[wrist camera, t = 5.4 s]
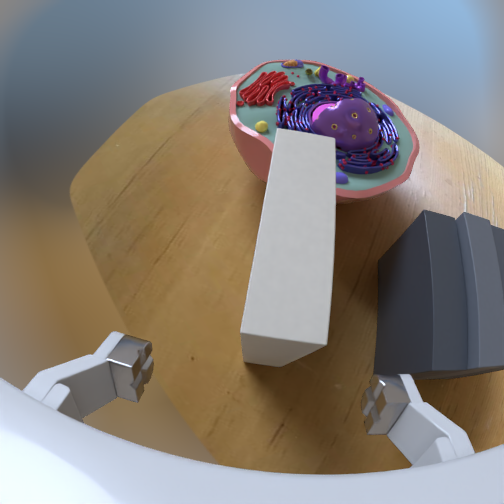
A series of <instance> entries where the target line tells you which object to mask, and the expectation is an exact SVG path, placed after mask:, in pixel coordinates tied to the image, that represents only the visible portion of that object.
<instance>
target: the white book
mask: <svg viewBox="0 0 504 504" xmlns="http://www.w3.org/2000/svg"><path fill="white" fill-rule="evenodd" d="M335 222H336V146H335V138H332V137H327V136H322V135H316V134H311V133H305V132H300V131H294V130H287V129H281V128H277V130H276V136H275V141H274V147H273V152H272V158H271V164H270V169H269V175H268V180H267V186H266V192H265V197H264V203H263V208H262V214H261V219H260V225H259V230H258V236H257V242H256V247H255V253H254V258H253V264H252V269H251V275H250V280H249V286H248V291H247V297H246V302H245V308H244V313H243V319H242V324H241V330H240V335H241V344H242V353H243V361H244V362H248V363H255V364H261V365H268V366H275V367H282V366H284V365H286V364H288V363H291V362H293V361H295V360H297V359H299V358H301V357H304V356H306V355H308V354H310V353H312V352H314V351H316V350H318V349H320V348H322V347H324V346H326V345H327V340H328V331H329V321H330V310H331V298H332V284H333V269H334V249H335Z"/></svg>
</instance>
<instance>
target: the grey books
mask: <svg viewBox="0 0 504 504" xmlns="http://www.w3.org/2000/svg"><path fill="white" fill-rule="evenodd" d="M499 370H504V229H501V228H498V227H495V226H492V225H491V224H490V221H489V220H487V219H484V218H481V217H478V216H475V215H472V214H469V213H466V212H463V213H462V214H461V215H460V216H459V217H458V218H457V219H456V220H455V218H453V217H450V216H446V215H443V214H439V213H435V212H431V211H428V210H423V211H422V212H421V214H420V215H419V216H418V217H417V218H416V219H415V221H414V222H413V223H412V224H411V225H410V226H409V227H408V229H407V230H406V231H405V232H404V233H403V234H402V235H401V236H400V238H399V239H398V240H397V241H396V242H395V243H394V244H393V245H392V246H391V247H390V248H389V250H388V251H387V252H386V253H385V254H384V255H383V256H382V257H381V258H380V259H379V260H378V317H377V336H376V350H375V362H374V373H373V375H374V374H410V375H411V376H412V378H413V379H453V378H461V377H467V376H473V375H479V374H484V373H489V372H494V371H499Z"/></svg>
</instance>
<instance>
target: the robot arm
mask: <svg viewBox="0 0 504 504" xmlns="http://www.w3.org/2000/svg"><path fill="white" fill-rule="evenodd" d="M151 352H152V343H151V342H150V341H147V340H143V339H140V338H136V337H133V336H130V335H125V334H122V333H119V332H116V331H114V332H112V333H111V334H110V335H109V336H108V337H107V339H106V340H105V341H104V342H103V343H102V345H101V346H100V347H99V348H98V349H97V351H96V352H95V353H94V354H93V355H90V354H89V355H86V356H83V357H81V358H78V359H75V360H72V361H69V362H66V363H64V364H61V365H58V366H55V367H52V368H49V369H46V370H43V371H40V372H39V373H38V374H37V375H36V376H35V377H34V378H33V379H32V380H31V382H30V383H29V384H28V385H27V386H26V387H25V388H24V390H23V391H21V390H19V389H18V388H16V387H15V386H13V385H11V384H10V383H8V382H7V381H5V380H4V379H2V378H1V377H0V504H504V444H502V445H499V446H497V447H494V448H491V449H488V450H485V451H482V452H478V453H475V451H474V449H473V447H472V445H471V442H470V440H469V438H468V436H467V433H466V432H465V431H464V430H463V429H461V428H460V427H459V426H457V425H456V424H455V423H453V422H452V421H451V420H449V419H448V418H447V417H445V416H444V415H443V414H441V413H440V412H439V411H437V410H436V409H435V408H433V407H432V406H431V405H429V404H428V403H427V402H423V400H422V398H421V396H420V394H419V392H418V389H417V387H416V385H415V383H414V381H413V378H412V376H411V375H410V374H374V375H373V376H372V377H371V379H370V381H369V382H370V385H371V386H370V387H369V388H367V389H366V390H365V391H364V393H363V396H362V400H361V410H362V413H363V414H364V415H365V416H366V417H367V418H366V419H365V421H364V423H365V428H366V432H367V435H385V434H387V436H388V438H389V439H390V440H391V441H392V442H393V443H394V444H395V446H396V447H397V448H398V449H399V450H400V451H401V452H402V453H403V455H404V456H405V457H406V458H407V459H408V460H409V461H410V463H411V464H412V466H411V467H410V468H407V469H400V470H392V471H383V472H373V473H359V474H334V475H314V474H289V473H275V472H264V471H255V470H247V469H240V468H234V467H227V466H222V465H216V464H210V463H206V462H201V461H197V460H192V459H188V458H183V457H180V456H176V455H172V454H168V453H164V452H161V451H158V450H154V449H151V448H147V447H144V446H141V445H138V444H135V443H132V442H129V441H127V440H124V439H121V438H118V437H115V436H113V435H110V434H107V433H105V432H103V431H100V430H98V429H95V428H93V427H91V426H88V425H86V424H84V422H83V420H82V418H84V417H85V416H87V415H89V414H90V413H92V412H94V411H96V410H97V409H99V408H101V407H102V406H104V405H105V404H107V403H109V402H111V401H112V400H114V399H116V398H117V397H120V398H124V399H127V400H130V401H133V402H137V403H138V402H139V400H140V398H141V396H142V394H143V392H144V384H146V383H148V382H149V381H150V379H151V376H152V373H153V366H154V362H153V358H152V357H151V356H150V354H151Z"/></svg>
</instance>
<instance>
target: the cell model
mask: <svg viewBox="0 0 504 504" xmlns="http://www.w3.org/2000/svg"><path fill="white" fill-rule="evenodd" d="M228 122H229V131H230V134H231V136H232V139H233V141H234V143H235V145H236V147H237V149H238V151H239V153H240V155H241V156H242V158H243V160H244V161H245V163H246V165H247V166H248V168H249V169H250V170H251V172H252V173H253V174H254V175H255V176H256V177H257V178H259V179H260V180H262V181H263V182H265V183H267V180H268V175H269V169H270V164H271V158H272V152H273V147H274V141H275V136H276V130H277V128H281V129H287V130H294V131H300V132H305V133H311V134H316V135H322V136H327V137H332V138H335V146H336V203H338V204H347V203H352V202H356V201H365V200H370V199H374V198H376V197H379V196H381V195H383V194H384V193H386V192H388V191H390V190H391V189H393V188H395V187H397V186H398V185H400V184H402V183H403V182H404V181H406V180H407V179H408V178H409V176H410V174H411V171H412V168H413V164H414V161H415V159H416V157H417V155H418V153H419V141H418V138H417V135H416V133H415V132H414V130H413V128H412V127H411V125H410V124H409V123H408V121H407V120H406V118H405V117H404V115H403V114H402V112H401V111H400V109H399V108H398V106H397V105H396V104H395V103H394V102H393V101H392V100H391V99H390V98H388V97H387V96H386V95H385V94H383V93H382V92H380V91H379V90H378V89H376V88H375V87H374V86H372V85H370V84H369V83H367V82H365V81H364V78H362V77H360V78H358V77H355V76H353V75H351V74H348V73H346V72H344V71H341V70H339V69H336V68H334V67H331V66H329V65H326V64H323V63H319V62H316V61H310V60H274V61H268V62H265V63H261V64H260V65H258V66H256V67H255V68H253V69H252V70H250V71H249V72H248V73H247V74H245V75H244V76H243V77H241V78H240V79H239V80H238V81H236V82H235V83H234V84H233V86H232V87H231V98H230V109H229V120H228Z"/></svg>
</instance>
